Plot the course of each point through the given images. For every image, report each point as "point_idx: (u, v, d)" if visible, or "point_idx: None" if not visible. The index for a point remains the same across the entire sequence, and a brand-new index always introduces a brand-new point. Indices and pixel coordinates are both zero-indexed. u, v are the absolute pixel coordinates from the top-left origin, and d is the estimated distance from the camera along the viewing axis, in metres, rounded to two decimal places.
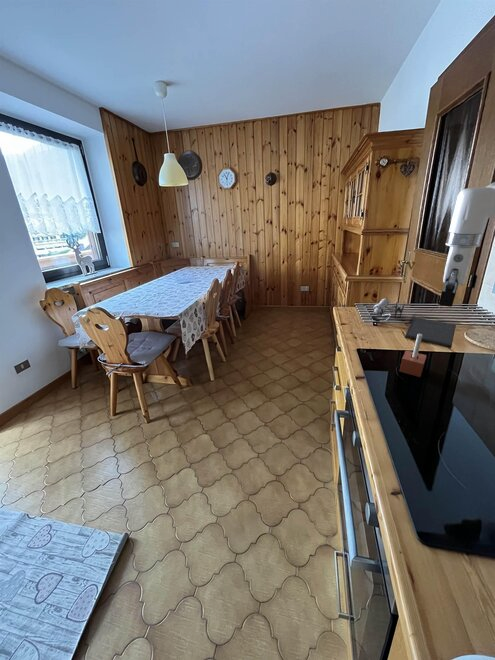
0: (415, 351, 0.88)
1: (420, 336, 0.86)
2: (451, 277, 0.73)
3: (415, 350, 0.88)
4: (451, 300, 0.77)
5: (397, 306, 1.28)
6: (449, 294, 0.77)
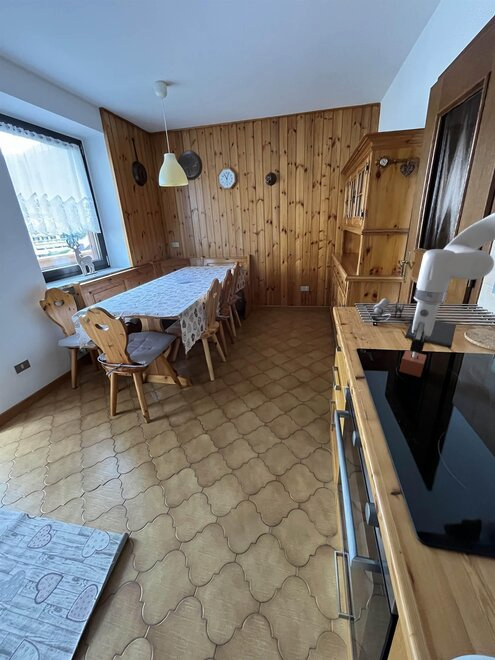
0: None
1: None
2: (417, 335, 0.81)
3: None
4: (420, 347, 0.86)
5: (397, 306, 1.28)
6: (418, 343, 0.85)
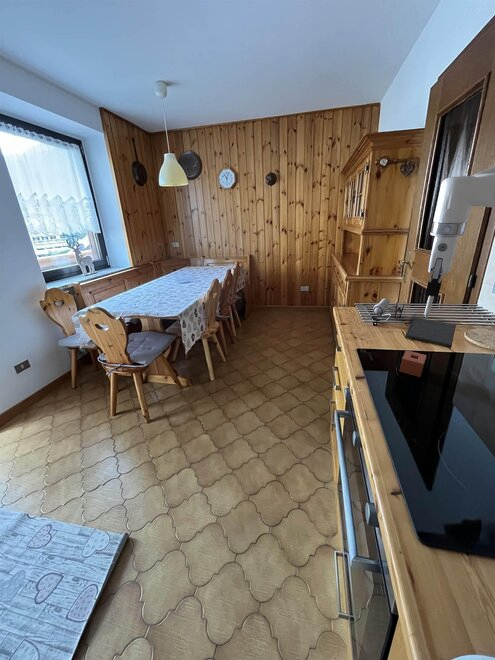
0: None
1: None
2: (434, 273, 0.76)
3: None
4: (437, 290, 0.81)
5: (397, 306, 1.28)
6: (435, 284, 0.80)
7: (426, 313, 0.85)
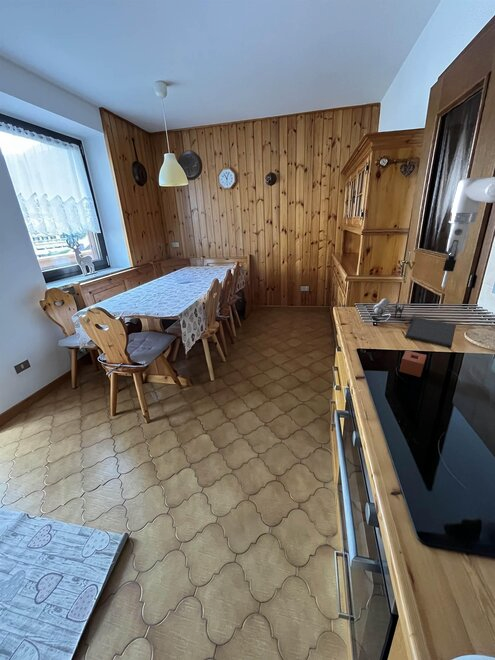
0: (447, 271, 1.06)
1: None
2: (451, 252, 0.99)
3: None
4: (452, 266, 1.04)
5: (397, 306, 1.28)
6: (451, 261, 1.03)
7: (443, 285, 1.08)
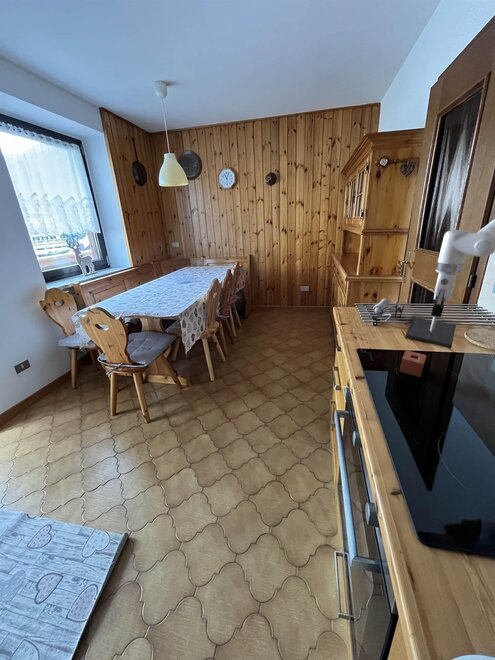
0: (435, 316, 1.07)
1: None
2: (438, 301, 1.00)
3: None
4: (440, 312, 1.05)
5: (397, 306, 1.28)
6: (438, 308, 1.04)
7: (431, 329, 1.10)
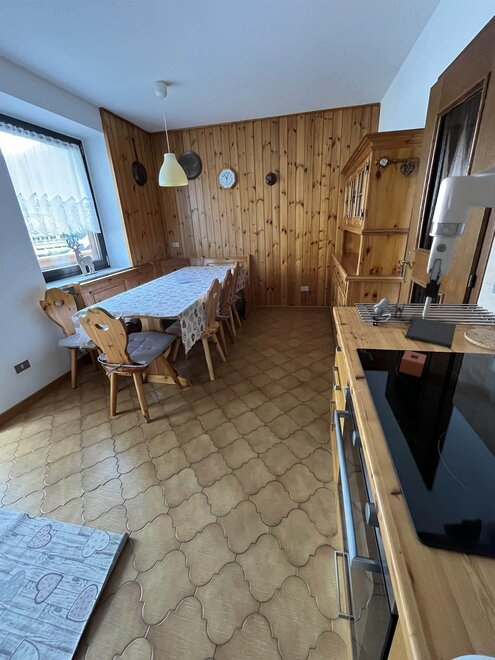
0: None
1: None
2: (433, 275, 0.75)
3: None
4: (436, 291, 0.80)
5: (397, 306, 1.28)
6: (433, 285, 0.79)
7: (424, 314, 0.84)
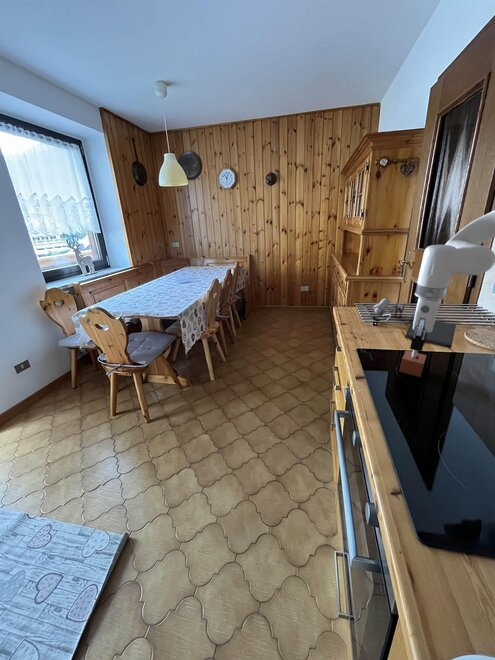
0: (414, 351, 0.88)
1: None
2: (418, 331, 0.80)
3: (414, 350, 0.88)
4: (421, 346, 0.85)
5: (397, 306, 1.28)
6: (418, 341, 0.84)
7: None
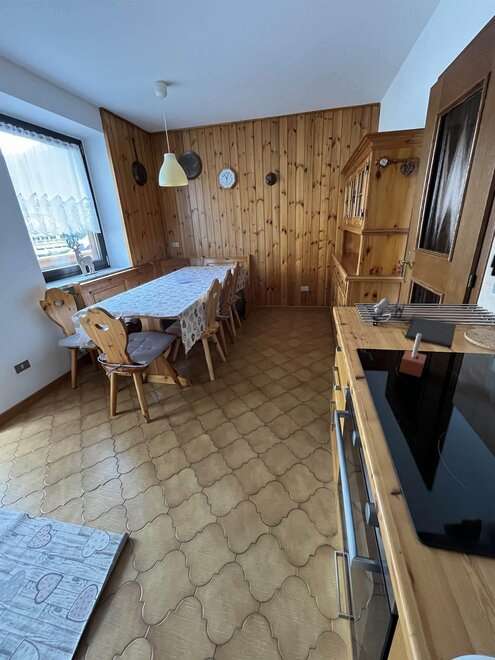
0: (414, 351, 0.88)
1: (419, 336, 0.86)
2: None
3: (414, 350, 0.88)
4: None
5: (397, 306, 1.28)
6: None
7: None
